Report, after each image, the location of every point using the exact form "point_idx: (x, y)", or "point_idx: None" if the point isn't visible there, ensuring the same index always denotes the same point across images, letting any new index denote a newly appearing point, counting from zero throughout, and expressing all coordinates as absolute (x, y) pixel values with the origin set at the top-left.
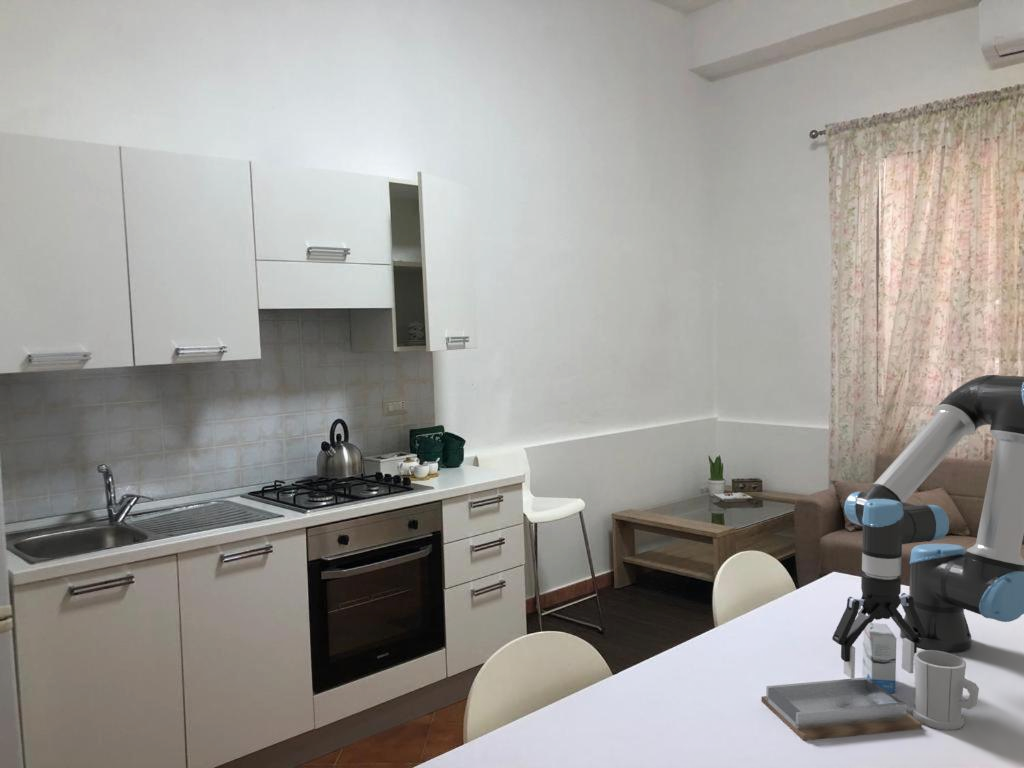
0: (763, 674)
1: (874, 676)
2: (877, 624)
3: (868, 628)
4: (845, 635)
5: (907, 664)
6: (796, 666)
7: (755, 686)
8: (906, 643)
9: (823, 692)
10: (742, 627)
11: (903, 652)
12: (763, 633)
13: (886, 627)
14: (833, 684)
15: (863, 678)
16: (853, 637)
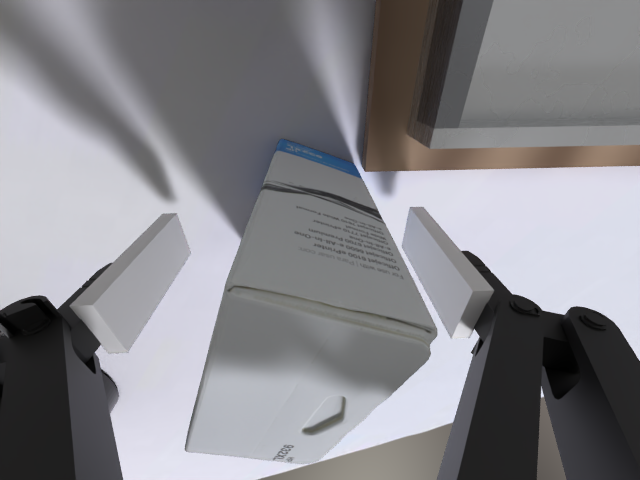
0: (546, 296)
1: (358, 180)
2: (249, 450)
3: (354, 423)
4: (606, 365)
5: (169, 242)
6: (436, 319)
7: (635, 246)
8: (123, 318)
9: (623, 117)
10: (401, 428)
11: (160, 291)
12: (384, 414)
13: (209, 427)
14: (610, 123)
15: (456, 138)
16: (527, 348)
